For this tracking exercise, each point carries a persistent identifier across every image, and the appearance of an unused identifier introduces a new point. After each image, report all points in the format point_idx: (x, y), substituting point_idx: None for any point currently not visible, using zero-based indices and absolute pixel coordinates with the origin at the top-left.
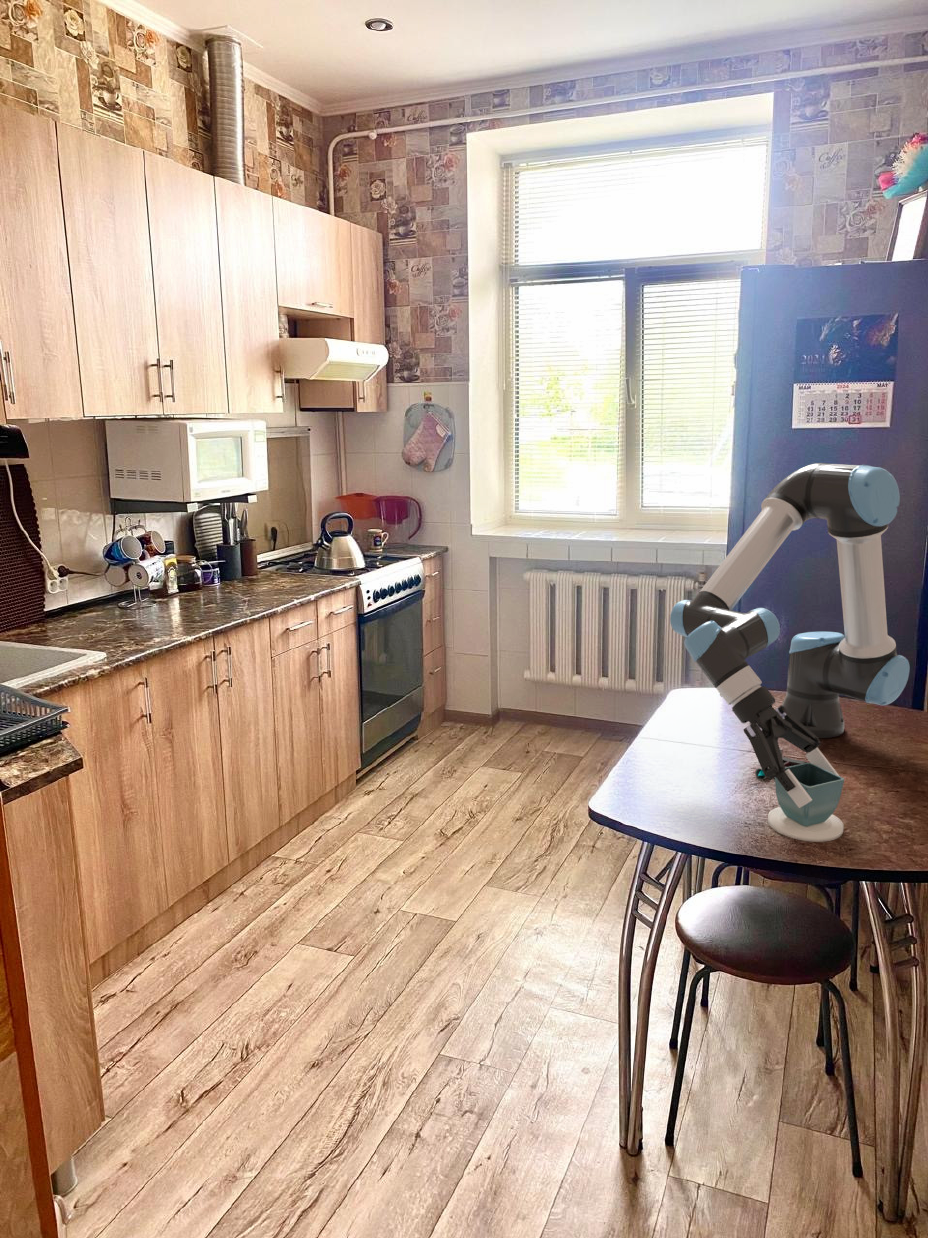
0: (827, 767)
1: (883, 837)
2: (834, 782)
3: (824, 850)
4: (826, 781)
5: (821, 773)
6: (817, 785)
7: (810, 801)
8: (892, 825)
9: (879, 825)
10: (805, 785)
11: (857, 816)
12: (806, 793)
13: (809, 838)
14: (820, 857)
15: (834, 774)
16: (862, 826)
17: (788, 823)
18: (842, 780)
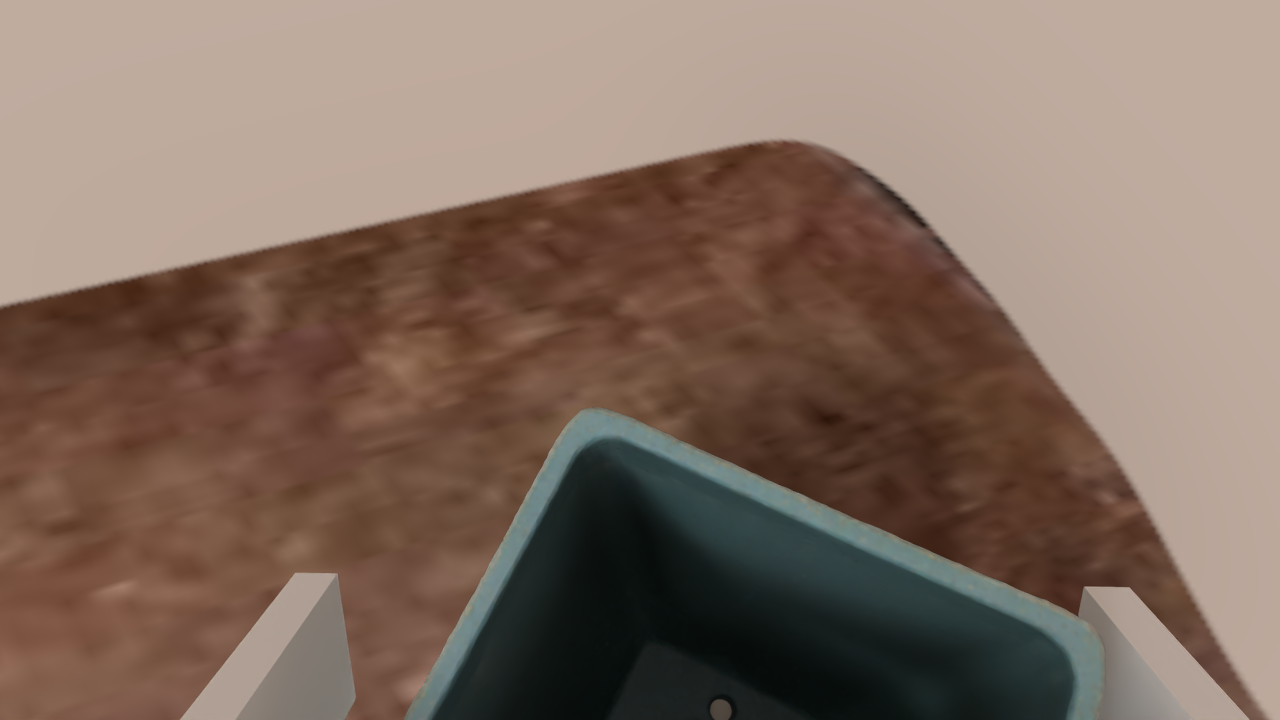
0: (274, 701)
1: (549, 329)
2: (730, 464)
3: (955, 527)
4: (511, 641)
5: (450, 717)
6: (969, 575)
7: (1129, 591)
8: (359, 336)
9: (398, 388)
10: (1088, 694)
11: (331, 527)
12: (1150, 643)
13: None
14: (1062, 514)
15: (516, 532)
16: (468, 458)
17: None
18: (622, 417)
